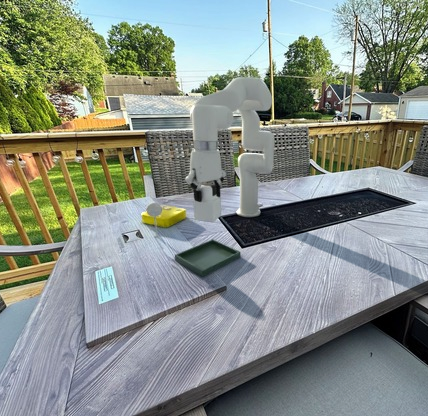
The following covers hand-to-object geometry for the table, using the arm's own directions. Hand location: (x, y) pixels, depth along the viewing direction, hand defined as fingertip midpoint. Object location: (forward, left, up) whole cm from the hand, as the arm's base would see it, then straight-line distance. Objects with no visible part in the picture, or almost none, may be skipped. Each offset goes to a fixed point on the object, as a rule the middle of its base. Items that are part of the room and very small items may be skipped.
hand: (207, 198), depth 90 cm
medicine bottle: (0, 0, -8) cm, 8 cm away
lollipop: (+5, -27, -22) cm, 35 cm away
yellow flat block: (-7, -41, -22) cm, 47 cm away
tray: (+2, +2, -22) cm, 22 cm away
